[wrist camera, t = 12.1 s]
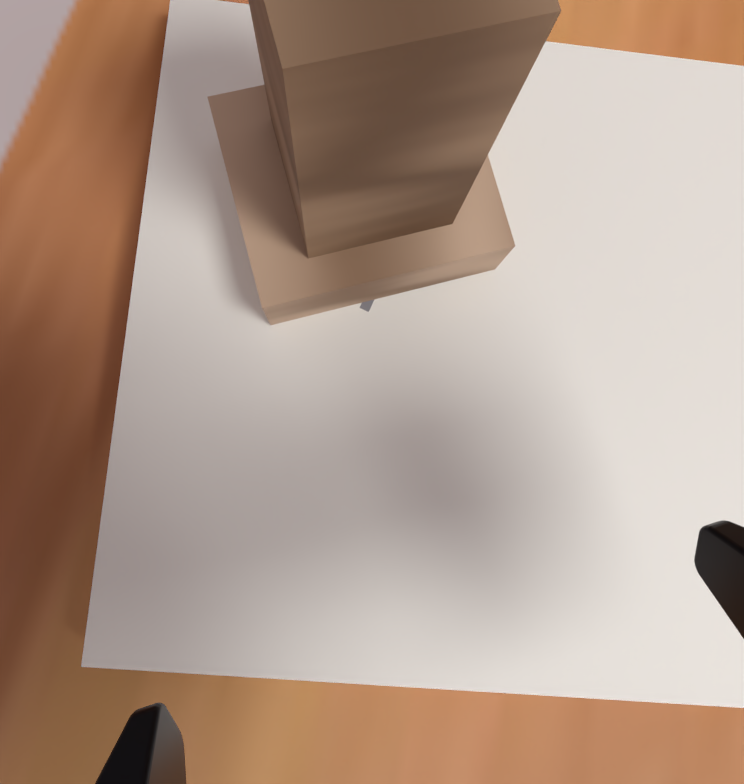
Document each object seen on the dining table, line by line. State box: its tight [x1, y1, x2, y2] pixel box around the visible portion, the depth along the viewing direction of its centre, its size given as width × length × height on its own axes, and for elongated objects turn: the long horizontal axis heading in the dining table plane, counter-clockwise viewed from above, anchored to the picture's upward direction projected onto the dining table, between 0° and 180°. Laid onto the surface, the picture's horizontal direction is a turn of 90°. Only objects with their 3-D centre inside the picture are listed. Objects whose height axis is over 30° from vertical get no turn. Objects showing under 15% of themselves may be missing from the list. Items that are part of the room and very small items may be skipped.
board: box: [81, 0, 744, 708], centre depth 18 cm, size 24×20×2 cm
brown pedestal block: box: [208, 0, 561, 325], centre depth 13 cm, size 7×6×10 cm
